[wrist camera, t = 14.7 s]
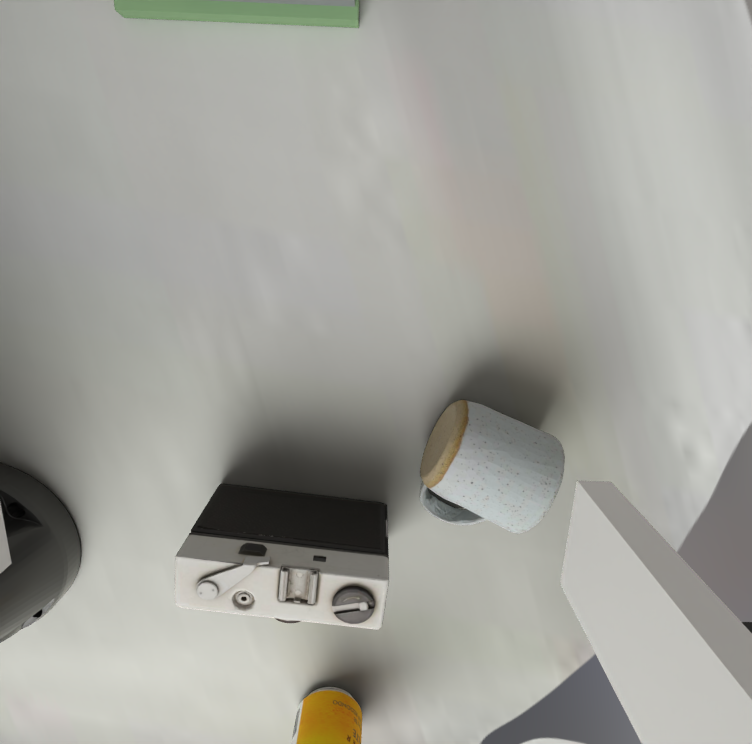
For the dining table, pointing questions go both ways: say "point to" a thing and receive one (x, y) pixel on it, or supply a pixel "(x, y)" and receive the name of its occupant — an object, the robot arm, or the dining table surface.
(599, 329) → the dining table surface
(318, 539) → the camera
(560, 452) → the ceramic mug
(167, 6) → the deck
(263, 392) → the dining table surface
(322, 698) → the white and yellow cylinder
